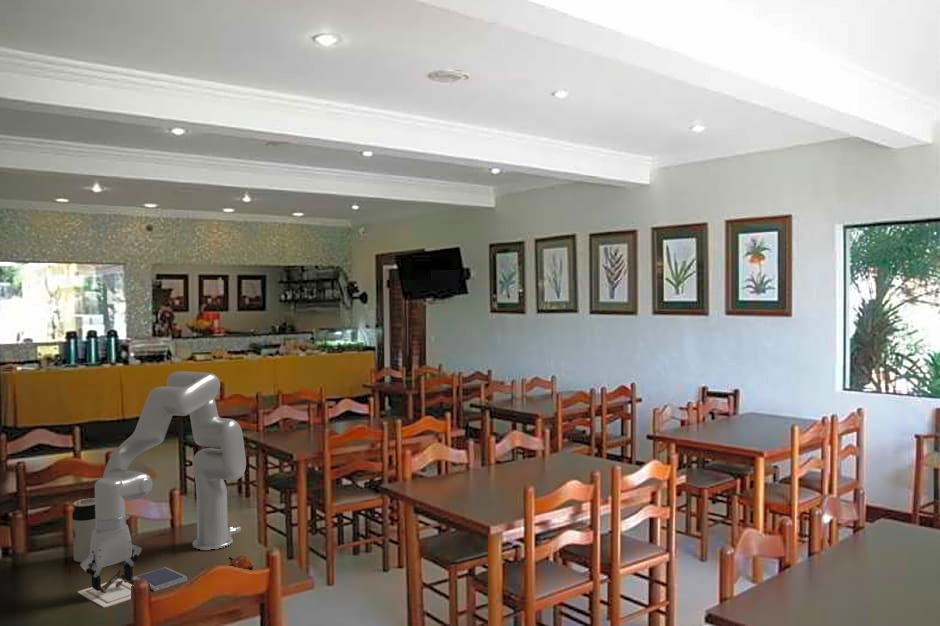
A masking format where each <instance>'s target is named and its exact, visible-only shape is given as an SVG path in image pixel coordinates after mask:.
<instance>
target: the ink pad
mask: <svg viewBox="0 0 940 626" xmlns="http://www.w3.org/2000/svg"><path fill="white" fill-rule="evenodd" d="M140 578H142V579H146V580H147V581H148V582H149V584H150V587H151V589H152V590H153V591H152V590H151V591H152V592H157V591H160V590H163V589H166V588H169V587H173V586H176V585H178V584H182V583H185V582H188V576H186V575H185V574H183V573H180V572H178V571H175V570H173V569H172V568H169V567H166V566H164V567H162V568H161V567H160V568H158V569H155V570H151V571H149V572H145V573H142V574H141V573H140V574H138V575H134V576H132V581H133V582H134V580H136V579H140Z"/></svg>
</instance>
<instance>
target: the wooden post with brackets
mask: <svg viewBox="0 0 940 626" xmlns="http://www.w3.org/2000/svg"><path fill="white" fill-rule="evenodd" d="M124 571H125V569H124V568H122V569H119V570H118V571H117V573H116V574H115V575H114V576H112V577H111V578H110V579H109V580H108V581H107V582H108V583H107V582H106V583H107V584H105V585H104V586H102V587H101V590H100V591H101V592H102V593H106V590H107V588H108V587H109V586H110V585H111V584H113V583H114V582H115V581H116V580H117V579H122V581H118V583H117V584H116V586H115V587H116V588H117V587H119V586H120V585H122V582H123V581H124V582H127V583H128V580H126V578H125V576H124Z"/></svg>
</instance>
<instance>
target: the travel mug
mask: <svg viewBox="0 0 940 626" xmlns="http://www.w3.org/2000/svg"><path fill="white" fill-rule="evenodd" d="M72 505H73V507H74V509H73V511H72V514H71V515H72V518H71V519H72V546H73V549H72V550H73V560H74V561H75V562H77V563H82V562H83V561H84V560H85V559H86V558H87V557H88V556H89V555H90V544H91V537H92V532H93V530H94V529H96V516H95V497H93V498H92V497H91V498H82V499H78V500H76V501H74V502H73V503H72Z"/></svg>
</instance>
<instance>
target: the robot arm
mask: <svg viewBox="0 0 940 626" xmlns="http://www.w3.org/2000/svg"><path fill="white" fill-rule="evenodd" d="M220 388H221V382H220V379H219V377H218V376H217V375H216V374H214V373H210V372H201V371H188V370H187V371H186V370H185V371H183V370H182V371H181V370H180V371H174V372H172V373H171V374H169V375H168V376H167V379H166V386H158V387H157V386H156V387H154V388H152V390H150V392H149V394H148V396H147V398H146V400H145V401H146V402H145V404H144V406H143V408H142V411H141V414H140V416H139V419H138V421H137V423H136V427H135V430H134V431H133V433H132V434H131V435H130V436H129V437H128V438H126V440H124V441H123V442H122V443H121V444H120V445H119V446H118V447H117V449H115V450H114V452H112V454H111V456H110V457H109V460H108V461H107V463H106V467H105V469H104V472H103V475H102V478H100V479H98V480H97V481H95V483H94V498H95V516H96V529H94V530H93V532H92V537H91V544H90V555H89V556H88V557H87V558H86V559H85V560H84V561H83V562H80V564H79V566H80V567H81V568H82V569H83V570H84V572H85V573H87V574H88V575H90V576H91V587H93V588H94V589H95V590H97V591H100V590H101V584H102V583H101V580H102V579H101V576H100V573H101V571H102V569H103V568H106V567H108V566H112V565H117V564H119V563H122V562H124V565H123V569H125V571H124V573H123V574H124V576H125V578H126V580H127V582H131V581H133V577H134V576H133V575H134V574H133V567H134V566H135V563H136V561H137V560H138V559H139V556H140V554H141V552H142V549H143V548H142V547H140V546H138V545H134V544H132V538H131V532H130V529H129V526H128V524H127V520H130V519H131V516H130V514H126V502H127V501H134V500H139V499H142V498H143V499H144V497H146V496H148V494H150V492H151V491H152V489H153V478H152V477H151V476H150V475H149V474H148V473H145V472H142V471H134V470H133V471H132V470H128V468H129V466H130V464H131V462H133V460H134V459H135V458H136V457H137V456H139V455H140V454H141V453H143V452H145V451H148V450H150V449H153V448H155V447H157V446H158V445H160V444H162V443H163V442H164V441H165V438H166V434H167V432H168V429H169V426H170V423H171V420H172V419H173V416H179V417H181V416H182V417H183V416H184V417H185V416H186V417H187V416H189V418H190V425H191V431H192V432H191V434H192V436H193V437H192V438H193V440H194V442H195V444H196V445H198V446H200V447H206V448H203V449H200V450H198V451H197V452H196V453H195V454H194V456H193V459H192V462H191V463H192V472H193V476H194V481H195V490H196V491H195V492H196V528H197V529H196V530H197V538H196V539H194V540H193V541H192V548H194V549H195V548H196V550H198V549H200V551H212V550H211V549H215V550H220V549H219V548H221V549H224V548H226V547H225V546H227V547H229V546H231V545H232V544H233V542H234V541H233V540H234V539H233V537H232V536H233V535H234V534H239V533H241V531H242V528H241V526H236V527H233V526H229V525H228V490H227V489H228V488H227V485H226V483H225V481H237V480H239V479H241V478H242V477H243V475H244V474H245V471H246V467H247V457H246V449H245V443H244V436H243V429H242V427H241V425H240V424H239V423H238V421H236V420H235V419H233V418H223V417H220V416H219V413H218V407H217V402H216V399H215V398H216V397H217V396H218V395H219V392H220ZM231 543H232V544H231ZM230 544H231V545H230ZM228 545H229V546H228ZM223 547H224V548H223ZM90 564H91V565H92V568H91V567H90V566H89V565H90Z"/></svg>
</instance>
